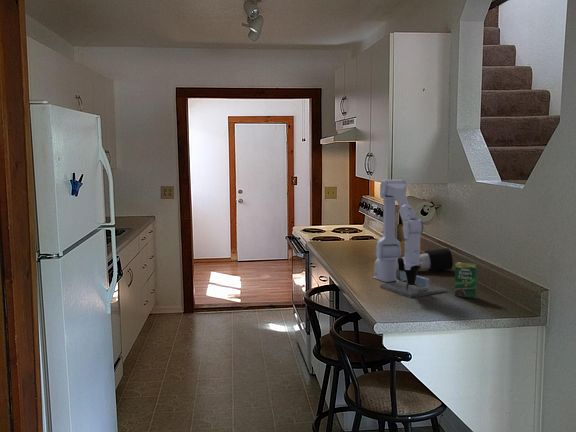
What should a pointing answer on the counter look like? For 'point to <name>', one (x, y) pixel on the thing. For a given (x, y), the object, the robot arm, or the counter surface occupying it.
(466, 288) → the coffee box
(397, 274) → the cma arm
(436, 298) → the counter surface
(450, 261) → the black banded cylinder
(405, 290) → the chassis
